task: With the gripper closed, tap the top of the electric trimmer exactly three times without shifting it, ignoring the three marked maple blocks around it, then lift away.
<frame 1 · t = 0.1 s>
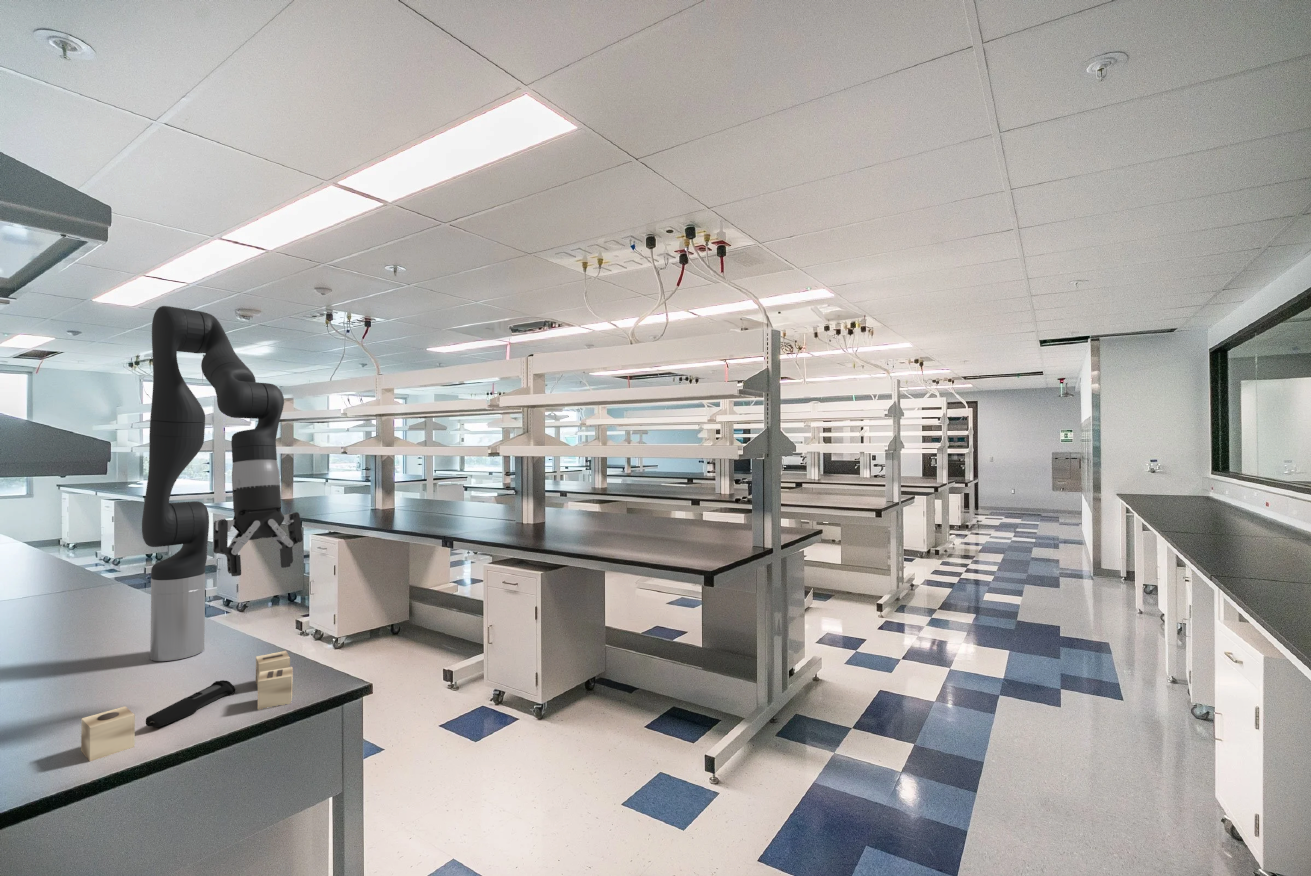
hand: (261, 571, 110), 22 cm above the lab bench, tool pointing down, fingers open, 8 cm apart
maple block c: (108, 749, 89), on the lab bench
maple block a: (272, 682, 114), on the lab bench
electric trimmer: (194, 712, 102), on the lab bench
maple block b: (275, 701, 105), on the lab bench
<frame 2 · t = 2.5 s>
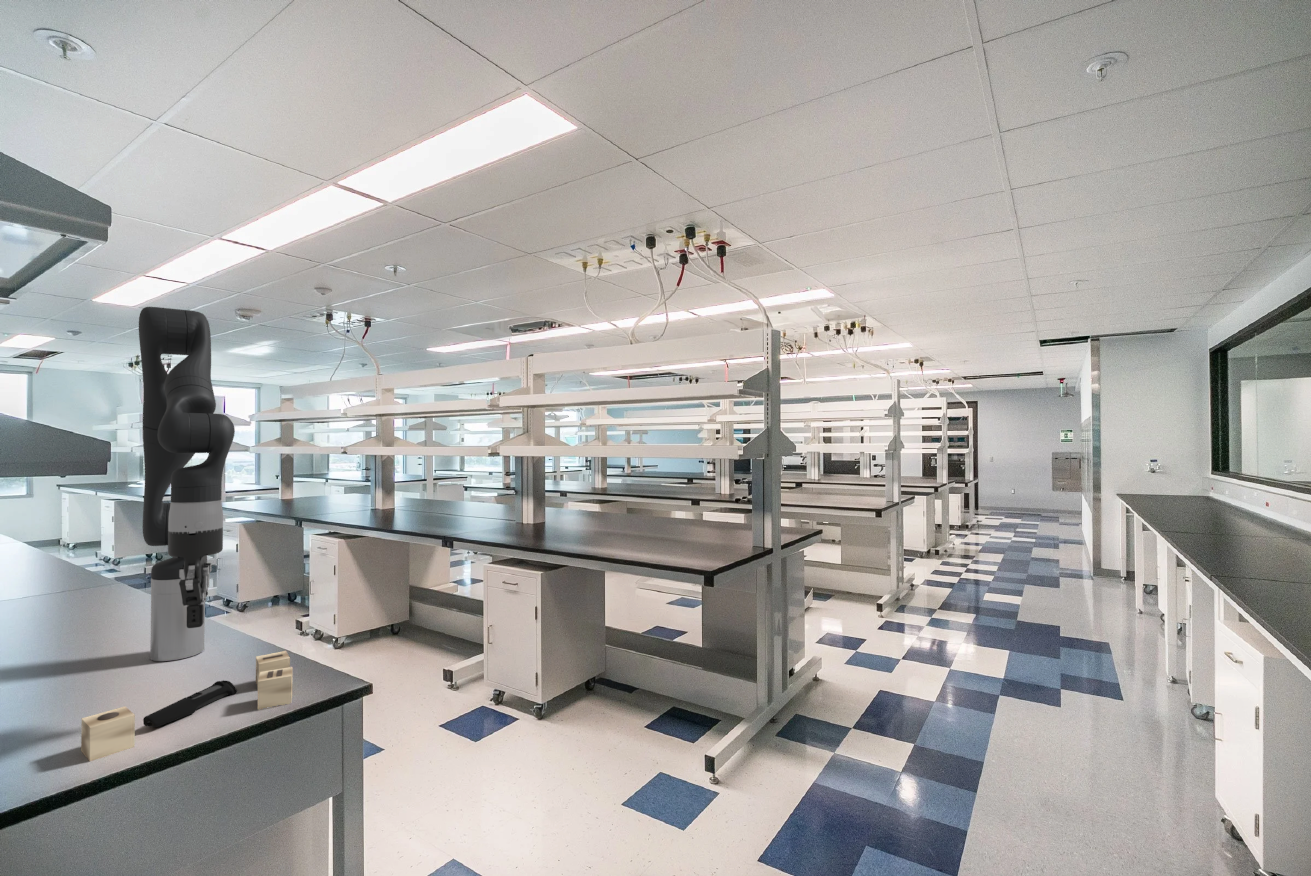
hand: (195, 626, 102), 14 cm above the lab bench, tool pointing down, fingers closed
nothing on the lab bench moved.
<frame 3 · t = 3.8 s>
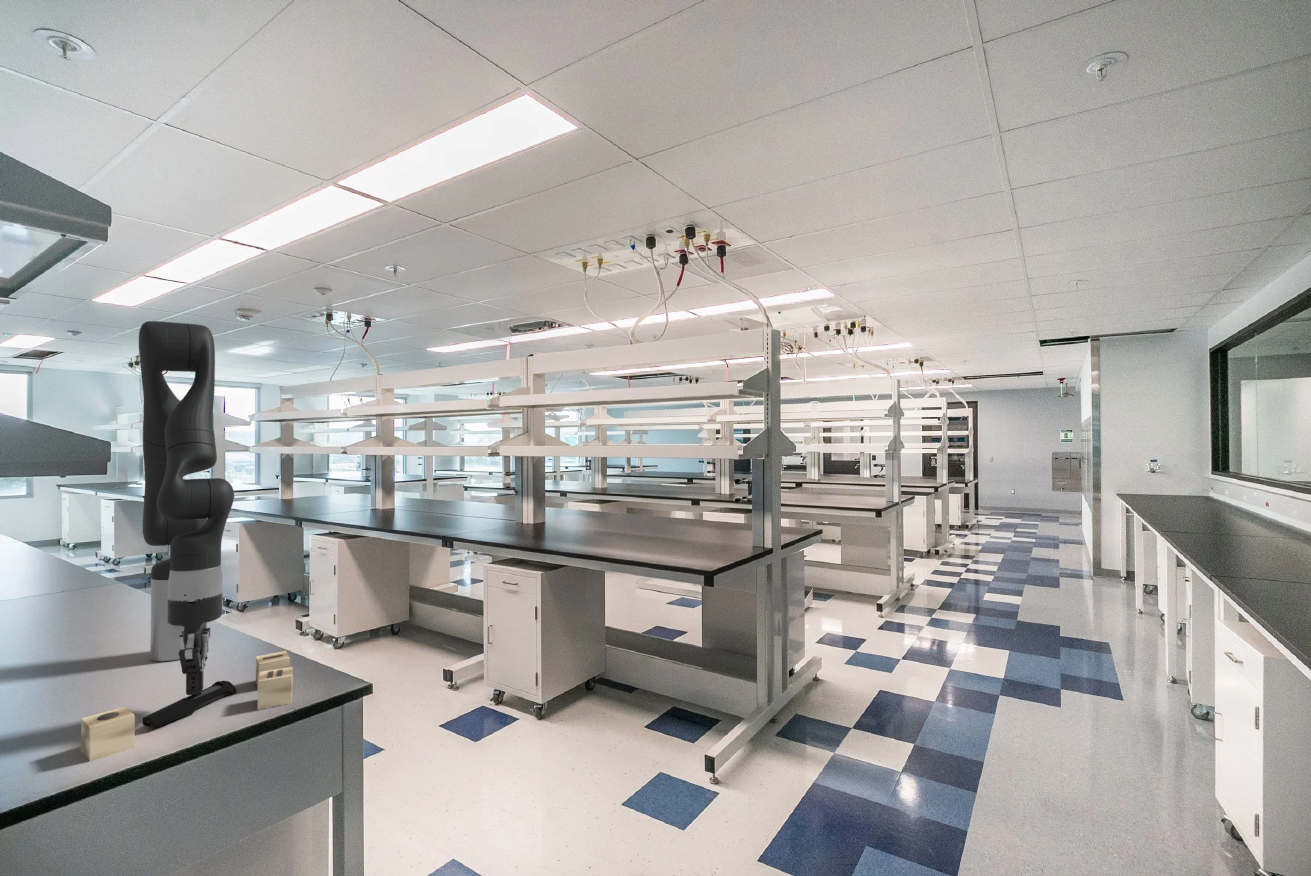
hand: (194, 692, 102), 3 cm above the lab bench, tool pointing down, fingers closed
nothing on the lab bench moved.
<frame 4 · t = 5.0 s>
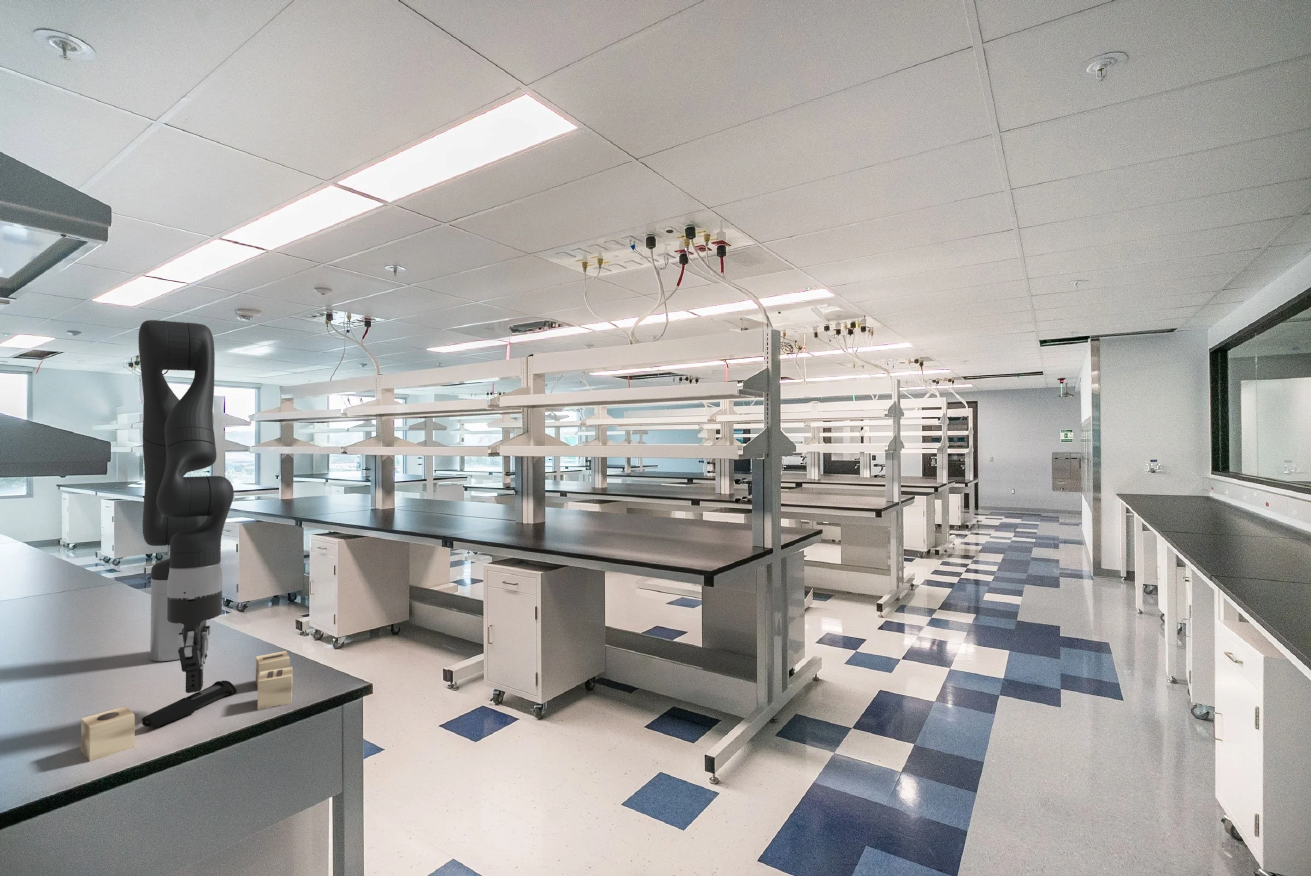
hand: (194, 690, 102), 3 cm above the lab bench, tool pointing down, fingers closed
nothing on the lab bench moved.
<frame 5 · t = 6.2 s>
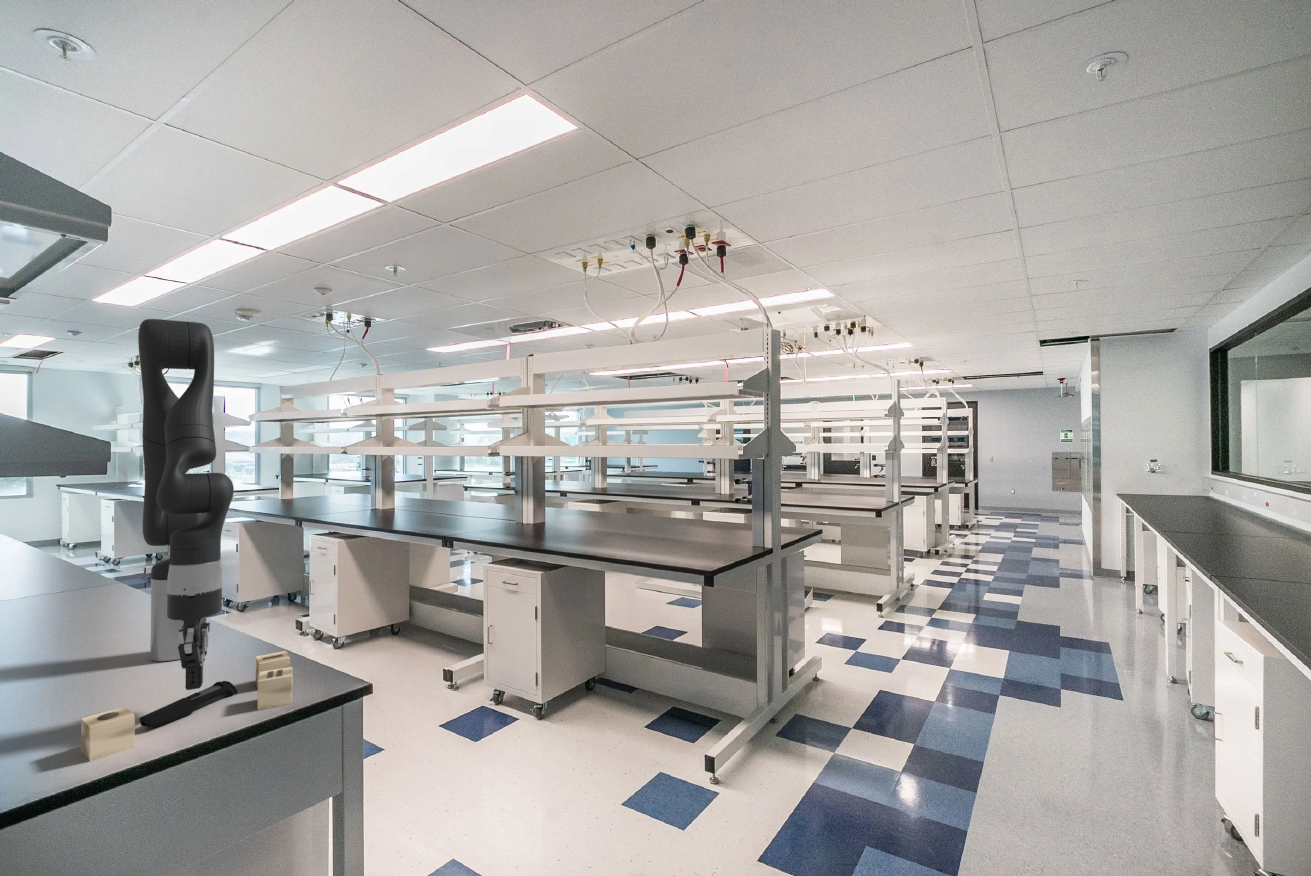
hand: (194, 687, 102), 4 cm above the lab bench, tool pointing down, fingers closed
nothing on the lab bench moved.
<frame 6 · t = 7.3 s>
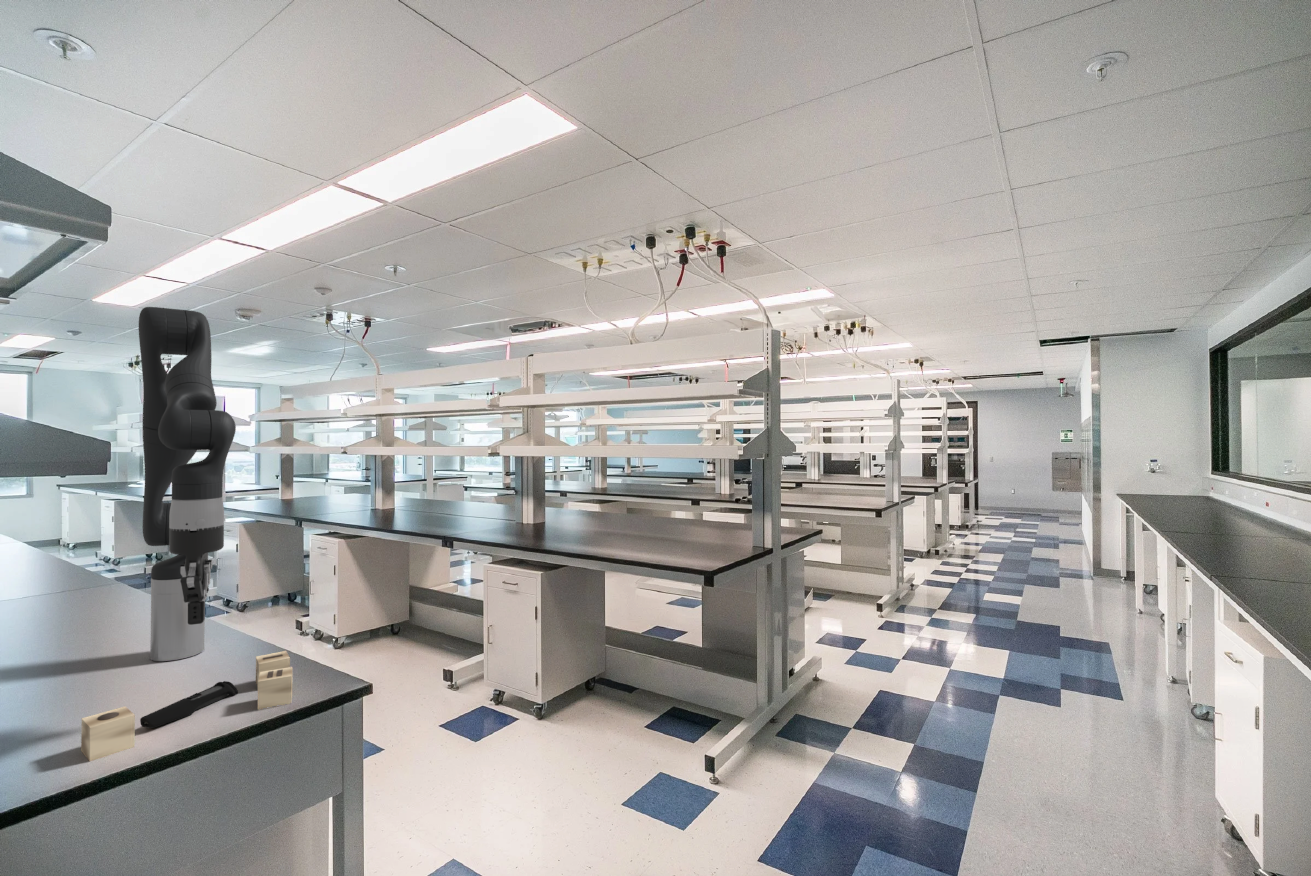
hand: (196, 622, 102), 15 cm above the lab bench, tool pointing down, fingers closed
nothing on the lab bench moved.
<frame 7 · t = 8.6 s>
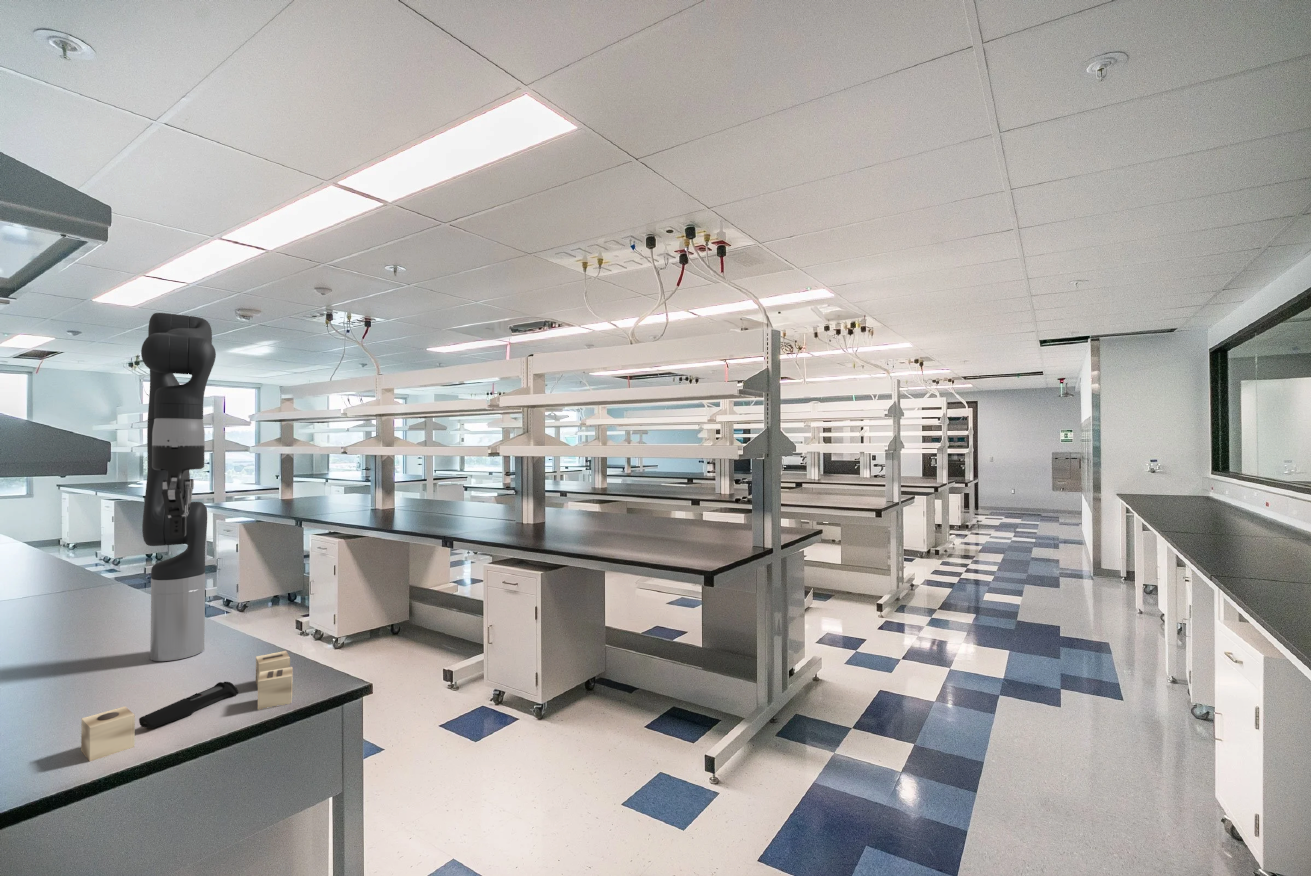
hand: (177, 537, 108), 29 cm above the lab bench, tool pointing down, fingers closed
nothing on the lab bench moved.
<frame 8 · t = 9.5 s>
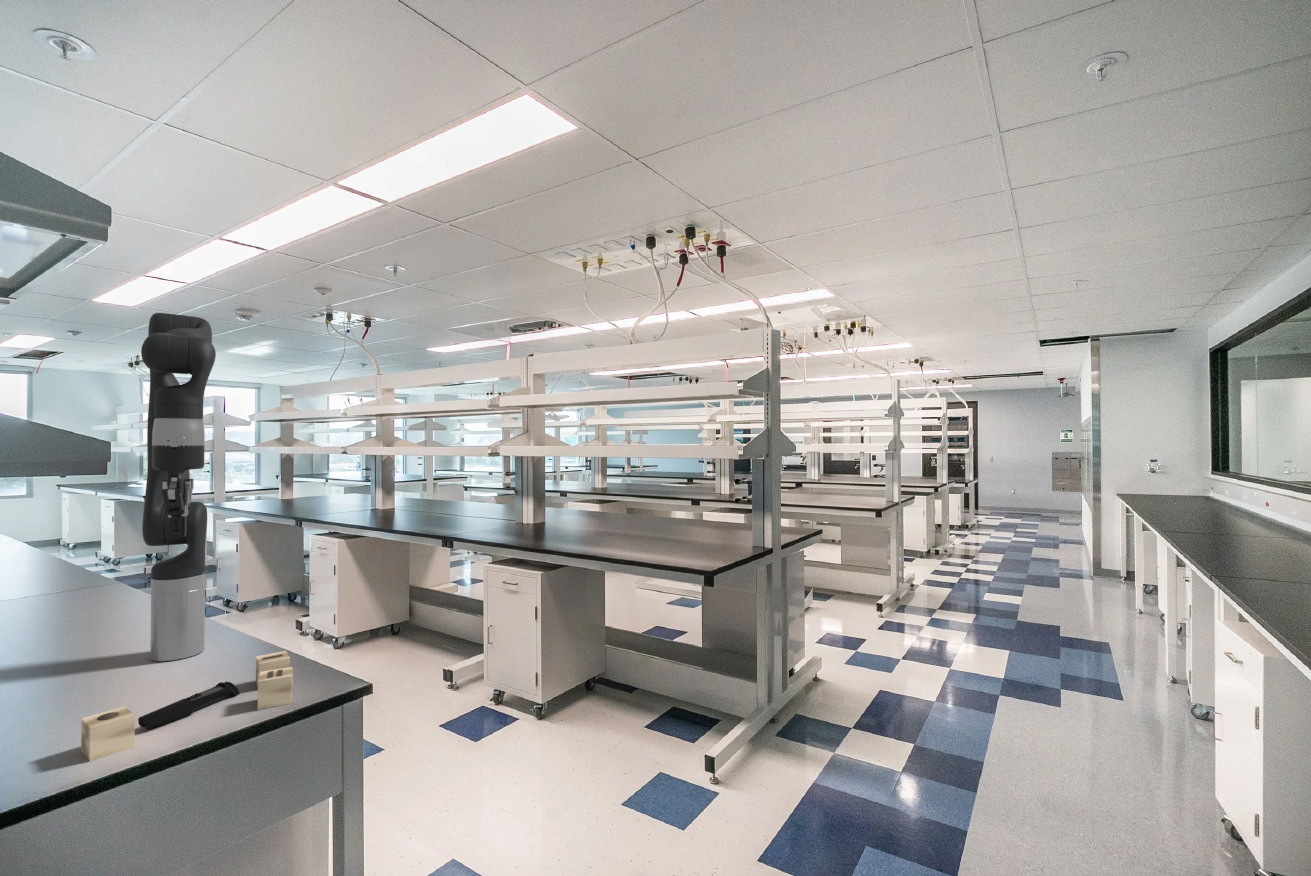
hand: (177, 537, 108), 29 cm above the lab bench, tool pointing down, fingers closed
nothing on the lab bench moved.
at the end: electric trimmer moved 0.7 cm from its start; the gripper is holding nothing; electric trimmer 0.5 cm from the target spot, on the lab bench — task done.
